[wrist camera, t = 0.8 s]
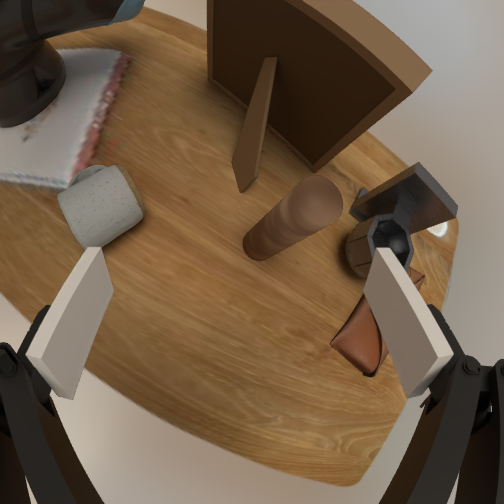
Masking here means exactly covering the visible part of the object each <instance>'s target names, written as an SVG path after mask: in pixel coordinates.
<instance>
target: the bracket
mask: <svg viewBox="0 0 504 504" xmlns="http://www.w3.org/2000/svg"><path fill="white" fill-rule="evenodd" d="M457 209H458V206H457V204H456V203H455V202H454V200H453V199H452V198H451V197H450V196H449V195H448V193H447V192H446V191H445V190H444V189H443V188H442V187H441V185H440V184H439V183H438V182H437V181H436V180H435V179H434V178H433V177H432V175H431V174H430V173H429V172H428V171H427V170H426V169H425V168H424V167H423V166H422V165H421V164H420V163H419V162H417V163H416V164H414V165H412V166H411V167H409V168H408V169H406V170H404V171H403V172H401V173H399V174H398V175H396V176H394V177H393V178H391V179H389V180H388V181H386V182H384V183H383V184H381V185H379V186H378V187H376V188H375V189H373V190H371V191H370V192H368V191H367V190H366V189H365V188H364V187H363V188H361V189H360V191H359V193H358V195H357V197H356V199H355V201H354V203H353V205H352V207H351V209H350V211H349V213H350V214H351V215H352V216H353V217H354V218H356V219H357V220H358V221H359V222H360V223H359V224H357V225H356V227H355V228H354V229H353V230H352V231H351V232H350V233H349V235H348V237H347V240H346V257H347V260H348V263H349V265H350V267H351V268H352V270H353V271H354V272H355V273H356V274H357V275H358V276H360V277H361V278H363V279H367V278H368V274H369V271H370V268H371V265H372V261H373V258H374V254H375V251H376V248H390V249H391V250H392V252H393V253H394V255H395V256H396V258H397V259H398V261H399V262H400V264H401V265H402V267H403V268H404V270H405V271H406V272H407V271H408V268H409V265H410V263H411V260H412V257H413V254H414V252H413V251H414V249H413V245H412V241H411V237H410V234H413V233H415V232H418V231H421V230H424V229H426V228H429V227H432V226H435V225H437V224H440V223H443V222H446V221H448V220H451V219H454V218H456V214H457Z"/></svg>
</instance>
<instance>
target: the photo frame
mask: <svg viewBox="0 0 504 504" xmlns="http://www.w3.org/2000/svg"><path fill="white" fill-rule="evenodd" d="M207 62H208V80H209V81H210V82H211V83H213V84H214V85H215V86H216V87H218V88H219V89H220V90H222V91H223V92H224V93H225V94H226V95H228V96H229V97H230V98H231V99H233V100H234V101H235V102H236V103H237V104H239V105H240V106H241V107H242V108H243V109H245V110H246V111H247V114H246V117H245V121H244V124H243V127H242V130H241V133H240V137H239V140H238V143H237V147H236V150H235V153H234V157H233V160H232V166H233V169H234V173H235V176H236V180H237V183H238V187H239V191H240V193H242V192H244V191H245V190H246V189H247V188H248V187H249V186H250V185H251V183H252V182H253V181H254V180H255V179H256V178H257V176H258V170H259V164H260V158H261V152H262V146H263V140H264V134H265V128H267V129H268V130H269V131H270V132H271V133H272V134H273V135H275V136H276V137H277V138H278V139H279V140H280V141H281V142H282V143H283V144H284V145H286V146H287V147H288V148H289V149H290V150H291V151H292V152H293V153H294V154H295V155H296V156H297V157H298V158H299V159H300V160H301V161H303V162H304V163H305V164H306V165H307V166H308V167H309V168H310V169H311V170H312V171H313V172H314V173H316V172H317V171H318V170H319V169H321V168H322V167H323V166H324V165H325V164H327V163H328V162H329V161H330V160H331V159H333V158H334V157H335V156H336V155H337V154H339V153H340V152H341V151H342V150H343V149H345V148H346V147H347V146H348V145H349V144H351V143H352V142H353V141H354V140H355V139H357V138H358V137H359V136H360V135H362V134H363V133H364V132H365V131H366V130H368V129H369V128H370V127H371V126H373V125H374V124H375V123H376V122H377V121H379V120H380V119H381V118H382V117H384V116H385V115H386V114H387V113H389V112H390V111H391V110H392V109H393V108H395V107H396V106H397V105H398V104H400V103H401V102H402V101H403V100H405V99H406V98H407V97H408V96H410V95H411V94H412V93H413V92H414V91H415V90H416V89H417V88H418V87H419V86H420V84H421V83H422V82H423V81H424V80H425V79H426V78H427V77H428V75H429V74H430V73H431V72H432V69H431V68H429V66H428V65H427V64H426V63H425V62H424V61H423V60H422V59H421V58H420V57H419V56H418V55H417V54H416V53H415V52H414V51H413V50H412V49H411V48H409V46H407V45H406V44H405V43H404V42H403V41H402V40H401V39H400V38H399V37H398V36H396V35H395V34H394V33H393V32H392V31H391V30H390V29H388V28H387V27H386V26H385V25H384V24H382V23H381V22H380V21H379V20H377V19H376V18H375V17H374V16H372V15H371V14H370V13H369V12H367V11H366V10H365V9H363V8H362V7H361V6H359V5H358V4H357V3H355V2H354V1H352V0H207Z"/></svg>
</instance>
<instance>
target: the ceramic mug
mask: <svg viewBox="0 0 504 504" xmlns="http://www.w3.org/2000/svg"><path fill="white" fill-rule="evenodd" d="M57 199H58V202H59V205H60V208H61V210H62V212H63V215H64V216H65V218H66V220H67V222H68V224H69V226H70V228H71V230H72V232H73V234H74V236H75V237H76V239H77V240H78V242H79V243H80V245H81V246H82V248H83V249H84V250H86V249H87V247H101V248H102V247H103V246H105V245H106V244H108V243H109V242H111V241H112V240H114V239H115V238H116V237H118V236H119V235H120V234H122V233H124V232H125V231H127V230H128V229H130V228H132V227H133V226H135V225H136V224H137V223H138V222H139V221H140V220H141V219H142V218H143V217H144V215H145V206H144V203H143V200H142V198H141V195H140V193H139V191H138V189H137V187H136V185H135V183H134V182H133V180H132V178H131V176H130V175H129V173H128V172H127V171H126V169H125V168H124V167H123V166H121V165H118V164H116V165H112V166H109V167H105V166H103V165H94V166H90V167H88V168H85V169H83V170H82V171H80V172H79V173H77V174H76V175H75V176H74V177H73V178H72V180H71V181H70V183H69V186H68V189H66V190H64V191H63V192H61V193H59V194H58V195H57Z"/></svg>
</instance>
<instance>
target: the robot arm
mask: <svg viewBox="0 0 504 504" xmlns="http://www.w3.org/2000/svg"><path fill="white" fill-rule="evenodd" d="M144 2H145V0H0V127H11V126H15V125H18V124H21V123H23V122H25V121H27V120H29V119H30V118H32V117H34V116H35V115H37V114H38V113H39V112H41V111H42V110H43V109H44V108H45V107H46V106H47V105H48V104H50V102H51V101H52V100H53V99H54V98H55V97H56V95H57V94H58V93H59V91H60V89H61V87H62V85H63V83H64V80H65V75H66V71H65V67H64V63H63V60H62V58H61V56H60V55H59V54H58V52H57V51H56V50H55V49H54V48H53V47H52V46H51V45H50V43H49V42H48V41H47V40H46V39H47V38H51V37H54V36H58V35H62V34H66V33H70V32H75V31H79V30H84V29H89V28H94V27H100V26H108V25H111V24H113V23H117V22H122V21H127V20H131V19H133V18H135V17H136V16H137V15H138V14H139V13H140V11H141V10H142V7H143V5H144ZM113 292H114V289H113V286H112V283H111V280H110V276H109V273H108V270H107V266H106V263H105V259H104V256H103V252H102V249H101V247H87V249H86V250H85V252H84V253H83V255H82V256H81V258H80V259H79V261H78V263H77V264H76V266H75V267H74V269H73V270H72V272H71V273H70V275H69V277H68V278H67V280H66V282H65V283H64V285H63V286H62V288H61V290H60V291H59V293H58V295H57V297H56V298H55V300H54V302H53V303H52V305H46V306H45V307H44V308H43V309H42V310H41V311H40V312H39V313H38V314H37V316H36V318H35V319H34V321H33V323H32V325H31V327H30V330H29V331H28V332H27V334H26V336H25V338H24V340H23V342H22V344H21V346H20V348H19V350H18V352H17V354H16V352H15V351H14V350H13V348H12V347H11V346H10V345H9V344H8V343H4V342H2V343H0V504H31V501H30V497H29V493H28V488H27V483H26V478H27V481H28V483H29V486H30V488H31V490H32V493H33V495H34V497H35V499H36V501H37V504H104V502H103V501H102V499H101V497H100V496H99V494H98V493H97V491H96V489H95V488H94V486H93V484H92V482H91V481H90V479H89V477H88V475H87V474H86V472H85V470H84V468H83V466H82V464H81V463H80V461H79V459H78V457H77V455H76V453H75V451H74V449H73V447H72V445H71V443H70V440H69V438H68V436H67V434H66V431H65V429H64V427H63V425H62V422H61V420H60V418H59V415H58V413H57V410H56V408H55V405H54V403H53V400H52V398H51V397H50V392H51V389H52V390H53V391H54V392H55V393H56V395H57V396H59V397H63V398H67V399H71V400H73V398H74V395H75V392H76V388H77V386H78V383H79V380H80V377H81V374H82V371H83V368H84V365H85V363H86V360H87V357H88V354H89V352H90V349H91V346H92V344H93V341H94V338H95V336H96V333H97V331H98V328H99V326H100V323H101V321H102V318H103V316H104V313H105V311H106V309H107V306H108V304H109V302H110V299H111V297H112V295H113ZM363 292H364V294H365V297H366V299H367V301H368V303H369V305H370V308H371V310H372V312H373V315H374V317H375V319H376V321H377V324H378V326H379V329H380V331H381V333H382V336H383V338H384V340H385V343H386V345H387V348H388V350H389V353H390V355H391V358H392V360H393V363H394V365H395V368H396V371H397V373H398V376H399V379H400V381H401V384H402V387H403V389H404V392H405V395H406V398H411V397H416V396H419V395H422V394H423V393H424V392H425V390H426V389H427V388H428V387H429V389H430V392H431V394H430V395H429V396H428V397H427V398H426V399H425V400H424V402H423V403H422V404H421V405H420V407H421V408H422V407H423V406H424V405H425V407H424V410H423V412H422V415H421V418H420V420H419V422H418V425H417V427H416V430H415V432H414V435H413V437H412V439H411V442H410V444H409V446H408V448H407V451H406V453H405V455H404V457H403V459H402V461H401V463H400V465H399V468H398V469H397V471H396V474H395V475H394V477H393V479H392V481H391V483H390V485H389V486H388V488H387V490H386V492H385V494H384V495H383V497H382V499H381V500H380V502H379V504H447V501H448V499H449V497H450V494H451V492H452V489H453V487H454V484H455V481H456V479H457V476H458V473H459V479H458V485H457V491H456V497H455V503H454V504H504V359H500V360H499V361H497V363H496V364H495V365H494V366H493V367H491V366H481V365H480V363H479V362H478V361H477V360H476V359H475V358H474V357H472V356H468V355H465V354H464V352H463V351H462V349H461V347H460V345H459V343H458V341H457V340H456V338H455V336H454V334H453V333H452V331H451V330H450V327H449V326H448V324H447V323H446V322H445V319H444V317H443V315H442V314H441V312H440V311H439V310H438V309H437V308H436V307H435V306H433V305H432V304H430V305H426V303H425V302H424V300H423V298H422V297H421V295H420V293H419V292H418V290H417V289H416V287H415V285H414V284H413V282H412V281H411V279H410V278H409V276H408V274H407V273H406V271H405V270H404V268H403V267H402V265H401V264H400V262H399V261H398V259H397V258H396V256H395V255H394V253H393V252H392V250H391V249H390V248H376V251H375V254H374V258H373V261H372V265H371V268H370V271H369V274H368V278H367V281H366V284H365V287H364V290H363ZM491 406H492V412H491ZM459 470H460V472H459ZM25 476H26V478H25Z"/></svg>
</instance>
